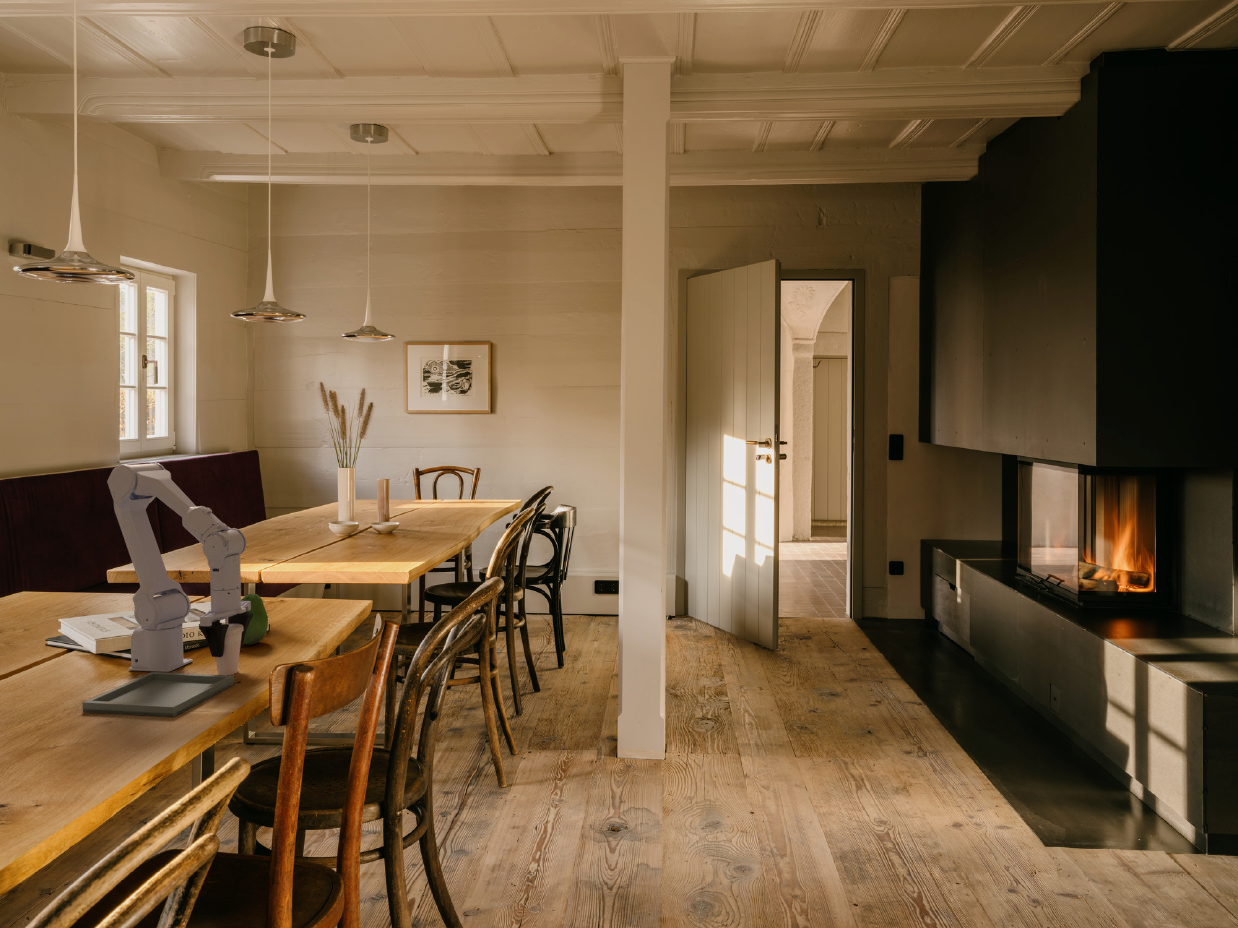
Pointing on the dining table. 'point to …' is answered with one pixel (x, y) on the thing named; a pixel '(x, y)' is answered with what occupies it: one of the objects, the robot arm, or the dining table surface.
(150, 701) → the tray
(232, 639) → the smoothie
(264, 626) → the avocado
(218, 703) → the dining table surface
